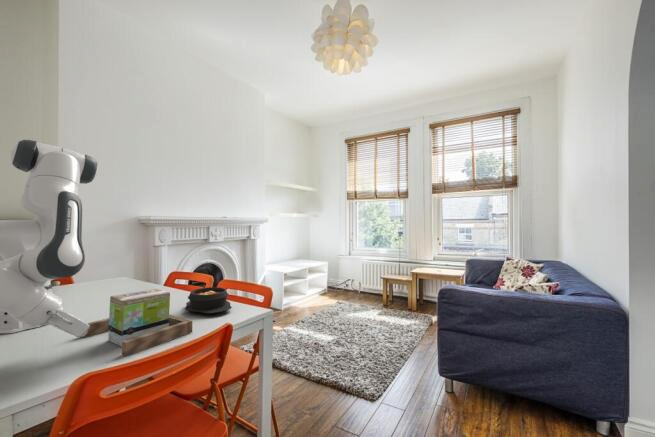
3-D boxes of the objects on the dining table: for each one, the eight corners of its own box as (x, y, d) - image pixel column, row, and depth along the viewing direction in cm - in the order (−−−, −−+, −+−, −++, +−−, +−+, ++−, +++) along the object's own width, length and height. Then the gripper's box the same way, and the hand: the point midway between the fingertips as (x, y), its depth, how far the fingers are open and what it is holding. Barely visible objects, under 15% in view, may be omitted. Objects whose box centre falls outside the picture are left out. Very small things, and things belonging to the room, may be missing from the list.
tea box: (122, 348, 92) (123, 300, 92) (107, 340, 97) (108, 295, 97) (169, 333, 104) (170, 291, 104) (154, 327, 110) (155, 287, 110)
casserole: (241, 311, 130) (242, 292, 130) (199, 321, 117) (200, 300, 117) (215, 300, 147) (215, 283, 147) (175, 307, 134) (176, 289, 134)
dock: (125, 356, 86) (125, 342, 86) (80, 336, 100) (81, 324, 100) (192, 332, 105) (192, 320, 105) (147, 318, 119) (147, 308, 119)
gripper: (68, 304, 77) (110, 330, 86) (37, 294, 87) (77, 318, 95) (45, 327, 73) (91, 351, 82) (15, 313, 83) (59, 336, 91)
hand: (83, 333), depth 89 cm, fingers closed
